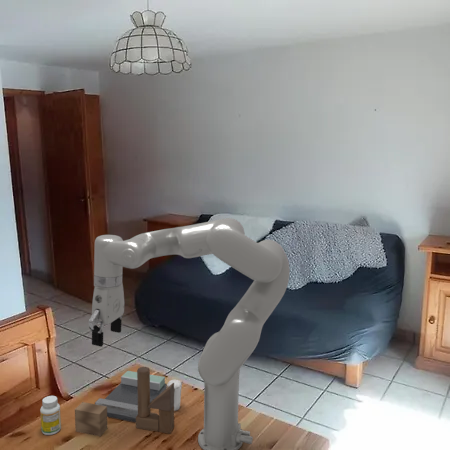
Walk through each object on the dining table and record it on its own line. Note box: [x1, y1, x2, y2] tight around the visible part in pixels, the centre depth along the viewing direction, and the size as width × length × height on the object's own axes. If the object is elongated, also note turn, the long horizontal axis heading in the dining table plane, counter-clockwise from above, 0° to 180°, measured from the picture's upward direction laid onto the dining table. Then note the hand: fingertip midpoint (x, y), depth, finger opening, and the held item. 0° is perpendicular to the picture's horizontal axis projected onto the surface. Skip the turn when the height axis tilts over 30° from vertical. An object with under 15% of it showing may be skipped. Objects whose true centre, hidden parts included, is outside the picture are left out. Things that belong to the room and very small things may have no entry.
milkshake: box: [166, 379, 184, 412], centre depth 144 cm, size 4×5×10 cm
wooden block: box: [135, 366, 175, 434], centre depth 133 cm, size 4×11×18 cm, turn 78°
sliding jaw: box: [120, 370, 166, 391], centre depth 156 cm, size 14×5×2 cm, turn 74°
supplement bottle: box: [39, 395, 62, 436], centre depth 132 cm, size 5×5×10 cm
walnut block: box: [74, 401, 108, 437], centre depth 133 cm, size 8×4×7 cm, turn 74°
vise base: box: [94, 382, 168, 423], centre depth 148 cm, size 15×21×4 cm
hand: (106, 338), depth 130 cm, fingers open, 9 cm apart
